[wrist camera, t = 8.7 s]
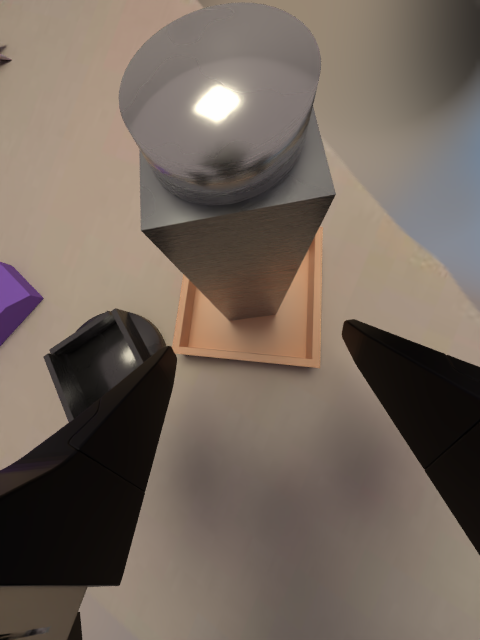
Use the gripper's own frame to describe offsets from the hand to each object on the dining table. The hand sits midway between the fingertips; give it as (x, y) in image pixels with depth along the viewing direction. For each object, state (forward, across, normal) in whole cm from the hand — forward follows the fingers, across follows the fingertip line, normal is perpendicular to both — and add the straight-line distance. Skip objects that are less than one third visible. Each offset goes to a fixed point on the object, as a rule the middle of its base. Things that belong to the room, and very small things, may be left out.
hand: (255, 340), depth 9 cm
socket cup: (+6, +14, +6) cm, 16 cm away
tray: (+9, 0, +2) cm, 9 cm away
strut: (+9, 0, +2) cm, 9 cm away
